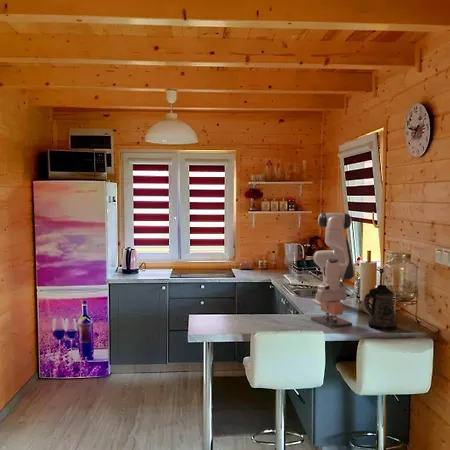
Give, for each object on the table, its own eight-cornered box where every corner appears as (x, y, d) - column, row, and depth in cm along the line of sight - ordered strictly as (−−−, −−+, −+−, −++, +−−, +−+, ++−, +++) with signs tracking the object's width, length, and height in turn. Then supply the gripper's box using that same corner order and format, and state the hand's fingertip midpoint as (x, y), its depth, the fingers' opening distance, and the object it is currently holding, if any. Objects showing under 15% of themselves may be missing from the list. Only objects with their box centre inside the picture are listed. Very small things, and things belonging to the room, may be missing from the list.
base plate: (310, 319, 292) (311, 311, 292) (332, 317, 298) (332, 309, 298) (330, 328, 274) (330, 319, 273) (352, 325, 280) (352, 317, 280)
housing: (320, 310, 291) (321, 299, 290) (328, 309, 293) (329, 298, 293) (334, 315, 278) (334, 303, 277) (342, 314, 280) (343, 302, 280)
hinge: (380, 316, 303) (375, 302, 302) (373, 319, 303) (369, 304, 302) (370, 310, 319) (365, 296, 319) (363, 312, 319) (359, 299, 318)
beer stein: (402, 327, 276) (403, 286, 275) (385, 333, 263) (386, 290, 262) (376, 322, 289) (378, 282, 287) (359, 327, 276) (360, 285, 274)
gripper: (342, 283, 292) (342, 305, 292) (315, 285, 284) (314, 308, 284) (349, 285, 286) (348, 307, 287) (321, 287, 278) (320, 310, 279)
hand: (331, 308), depth 285 cm, fingers closed on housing, 6 cm apart
